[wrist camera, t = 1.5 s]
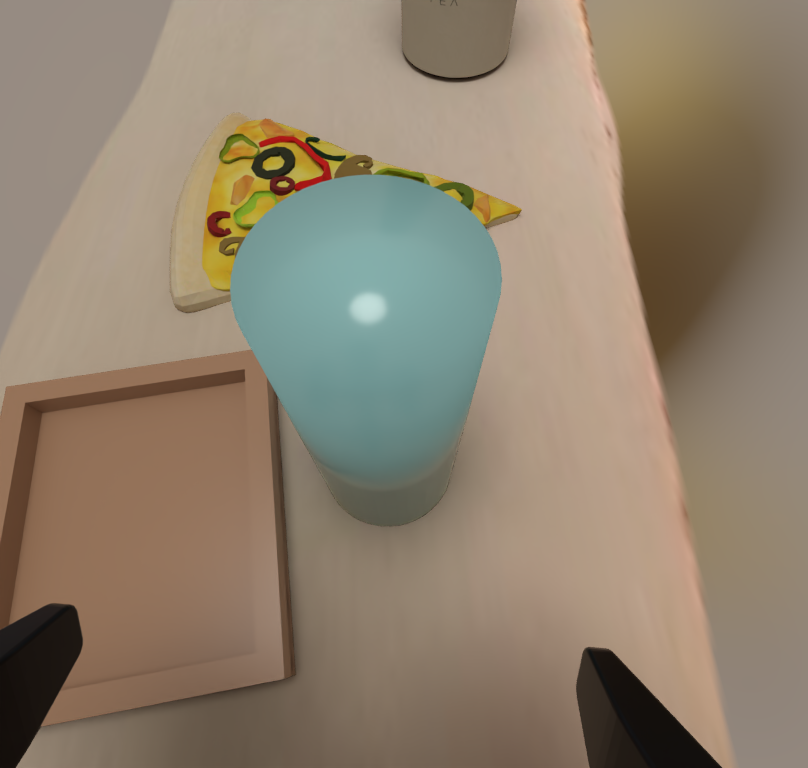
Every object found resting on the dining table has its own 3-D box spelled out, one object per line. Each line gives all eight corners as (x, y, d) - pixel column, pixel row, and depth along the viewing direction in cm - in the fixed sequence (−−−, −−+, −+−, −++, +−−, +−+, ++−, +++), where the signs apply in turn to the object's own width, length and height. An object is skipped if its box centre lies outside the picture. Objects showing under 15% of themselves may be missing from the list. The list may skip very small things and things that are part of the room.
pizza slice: (215, 133, 35) (198, 91, 32) (512, 140, 34) (520, 99, 32) (156, 319, 28) (129, 286, 26) (525, 332, 28) (537, 300, 25)
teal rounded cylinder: (464, 513, 23) (535, 367, 10) (332, 537, 22) (233, 415, 10) (438, 394, 25) (467, 160, 13) (319, 414, 25) (227, 191, 12)
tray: (295, 674, 20) (284, 678, 18) (-21, 736, 19) (-66, 747, 17) (275, 367, 26) (264, 347, 24) (34, 404, 25) (6, 386, 23)
